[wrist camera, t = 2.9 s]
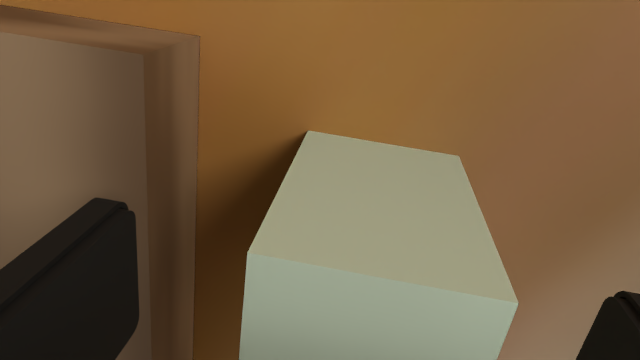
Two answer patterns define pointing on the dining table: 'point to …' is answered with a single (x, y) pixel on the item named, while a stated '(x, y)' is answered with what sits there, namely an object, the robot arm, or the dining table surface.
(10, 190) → the walnut base
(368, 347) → the sage block
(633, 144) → the dining table surface
